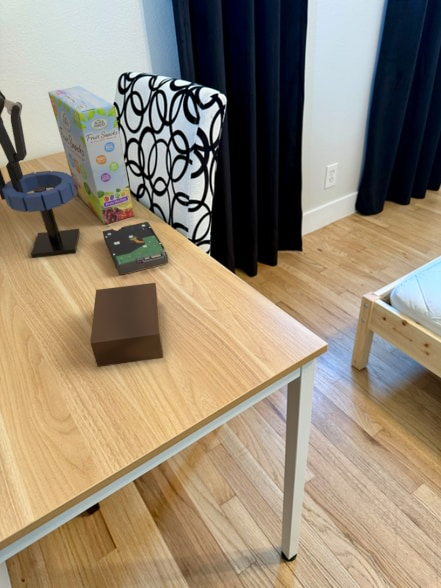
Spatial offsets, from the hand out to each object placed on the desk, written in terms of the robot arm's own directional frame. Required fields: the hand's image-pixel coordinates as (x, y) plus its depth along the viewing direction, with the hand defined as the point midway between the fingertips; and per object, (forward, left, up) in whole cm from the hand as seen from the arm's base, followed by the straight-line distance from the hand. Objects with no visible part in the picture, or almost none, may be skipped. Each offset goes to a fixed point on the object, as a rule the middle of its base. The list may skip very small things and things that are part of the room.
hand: (12, 195), depth 86 cm
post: (+5, 0, -12) cm, 13 cm away
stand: (+21, -32, -12) cm, 40 cm away
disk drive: (+22, -7, -12) cm, 26 cm away
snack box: (+14, +18, -12) cm, 26 cm away
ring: (+5, 0, -1) cm, 5 cm away
